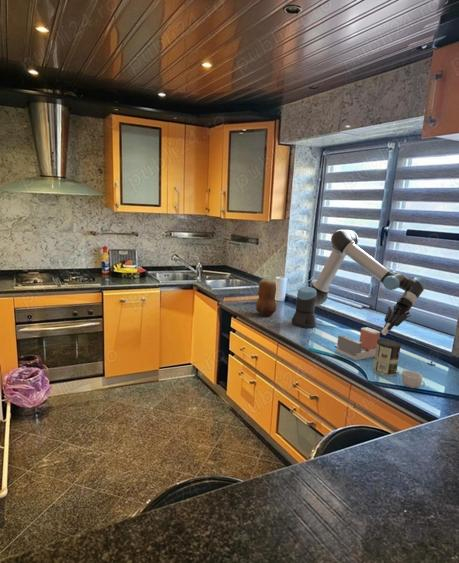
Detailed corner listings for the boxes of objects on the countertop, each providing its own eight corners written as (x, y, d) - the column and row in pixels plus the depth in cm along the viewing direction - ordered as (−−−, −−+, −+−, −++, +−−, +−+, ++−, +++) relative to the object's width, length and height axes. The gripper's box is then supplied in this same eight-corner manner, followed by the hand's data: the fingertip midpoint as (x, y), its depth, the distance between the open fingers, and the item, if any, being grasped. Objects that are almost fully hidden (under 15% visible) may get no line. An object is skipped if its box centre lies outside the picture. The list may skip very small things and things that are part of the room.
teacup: (396, 383, 162) (398, 371, 161) (407, 380, 166) (409, 369, 165) (417, 393, 154) (419, 381, 153) (429, 390, 158) (431, 378, 157)
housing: (364, 345, 209) (366, 331, 207) (384, 354, 198) (387, 338, 196) (336, 351, 197) (338, 335, 196) (356, 360, 186) (358, 343, 185)
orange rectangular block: (365, 344, 205) (367, 327, 203) (377, 349, 198) (380, 331, 196) (358, 345, 202) (361, 328, 200) (371, 350, 195) (373, 332, 193)
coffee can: (393, 368, 179) (398, 340, 176) (398, 377, 169) (403, 347, 166) (371, 365, 181) (375, 337, 178) (374, 374, 171) (379, 344, 168)
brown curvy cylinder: (267, 312, 266) (270, 277, 262) (279, 317, 255) (282, 280, 251) (251, 313, 259) (254, 277, 255) (262, 318, 248) (266, 281, 244)
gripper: (419, 308, 206) (396, 341, 200) (398, 302, 216) (375, 334, 211) (415, 299, 202) (391, 333, 196) (393, 294, 213) (370, 325, 207)
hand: (383, 333), depth 203 cm, fingers closed
